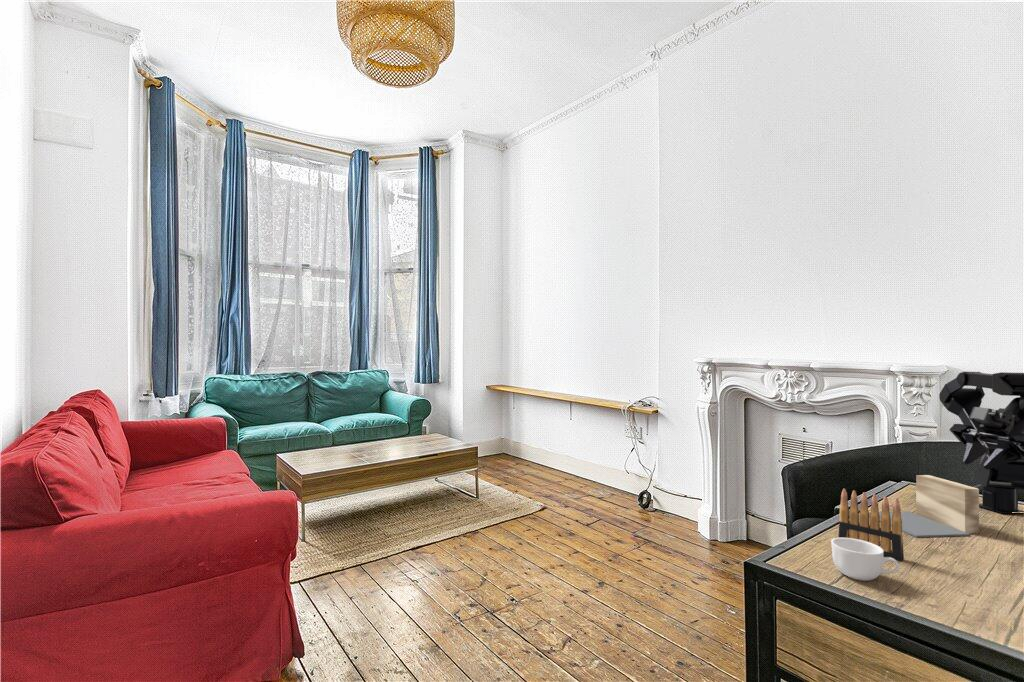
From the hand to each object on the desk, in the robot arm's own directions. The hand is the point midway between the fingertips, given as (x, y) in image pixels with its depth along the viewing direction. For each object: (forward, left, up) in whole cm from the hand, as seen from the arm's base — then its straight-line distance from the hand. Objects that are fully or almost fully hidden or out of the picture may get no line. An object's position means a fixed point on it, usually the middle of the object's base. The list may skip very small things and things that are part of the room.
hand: (974, 465), depth 118 cm
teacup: (+50, +24, -14) cm, 57 cm away
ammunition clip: (+40, +14, -14) cm, 44 cm away
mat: (+16, 0, -14) cm, 21 cm away
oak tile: (+8, 0, -14) cm, 16 cm away
